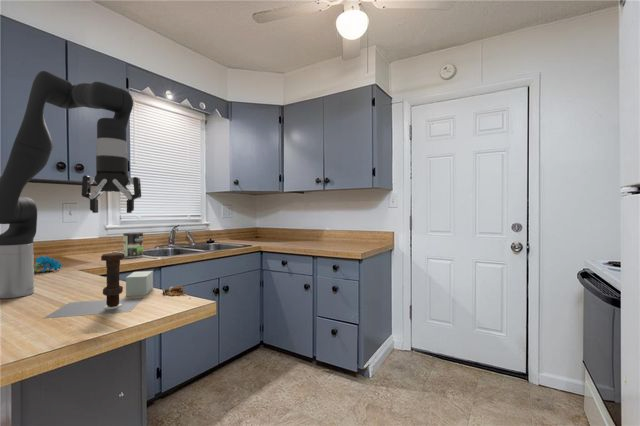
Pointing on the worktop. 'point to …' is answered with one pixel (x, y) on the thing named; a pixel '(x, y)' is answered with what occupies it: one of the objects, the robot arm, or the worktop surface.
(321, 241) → the worktop surface
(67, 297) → the worktop surface
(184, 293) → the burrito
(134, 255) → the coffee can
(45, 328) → the worktop surface
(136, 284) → the pale green block
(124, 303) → the board
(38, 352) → the worktop surface
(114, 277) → the bolt
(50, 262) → the blue flower cluster
